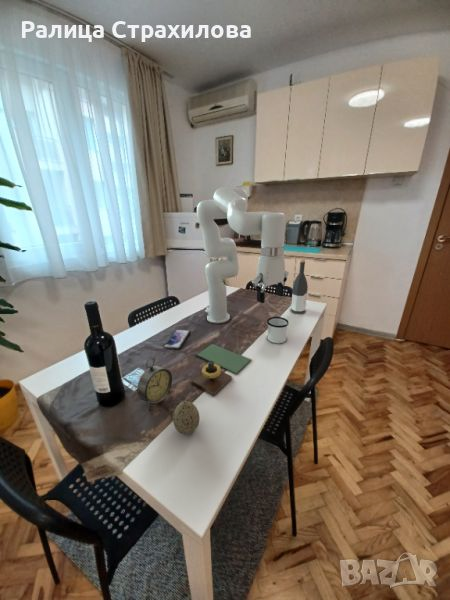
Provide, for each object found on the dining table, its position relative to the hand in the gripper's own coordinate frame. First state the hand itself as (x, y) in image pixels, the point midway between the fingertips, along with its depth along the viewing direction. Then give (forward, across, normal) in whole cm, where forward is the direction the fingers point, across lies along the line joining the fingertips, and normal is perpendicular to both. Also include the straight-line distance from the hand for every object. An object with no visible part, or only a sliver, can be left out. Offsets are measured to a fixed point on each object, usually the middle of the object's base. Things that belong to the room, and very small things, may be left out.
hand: (270, 298), depth 87 cm
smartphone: (+26, +22, -36) cm, 50 cm away
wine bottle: (+26, -46, -20) cm, 56 cm away
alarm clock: (+26, +44, -7) cm, 52 cm away
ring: (+22, +25, -3) cm, 34 cm away
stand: (+26, +25, -3) cm, 36 cm away
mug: (+26, -15, -8) cm, 31 cm away
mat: (+26, +14, -11) cm, 31 cm away
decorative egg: (+26, +41, +9) cm, 50 cm away
